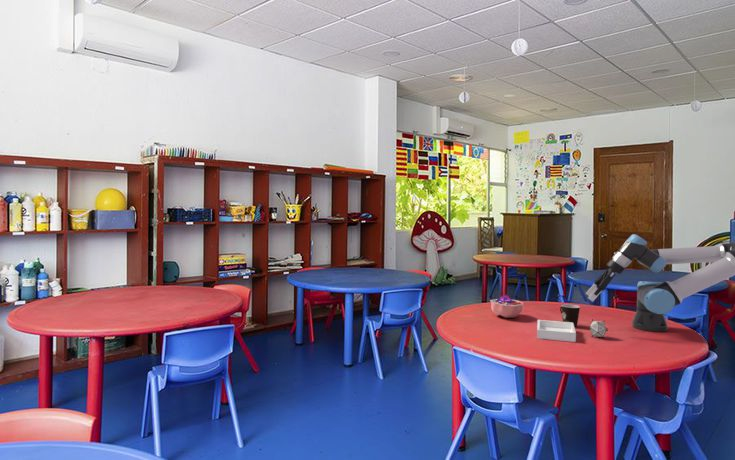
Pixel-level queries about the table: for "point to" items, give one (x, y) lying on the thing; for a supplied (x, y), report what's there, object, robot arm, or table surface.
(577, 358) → the table surface
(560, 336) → the sorting tray
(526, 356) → the table surface
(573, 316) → the coffee mug
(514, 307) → the cell model
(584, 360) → the table surface
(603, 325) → the game die
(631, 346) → the table surface
